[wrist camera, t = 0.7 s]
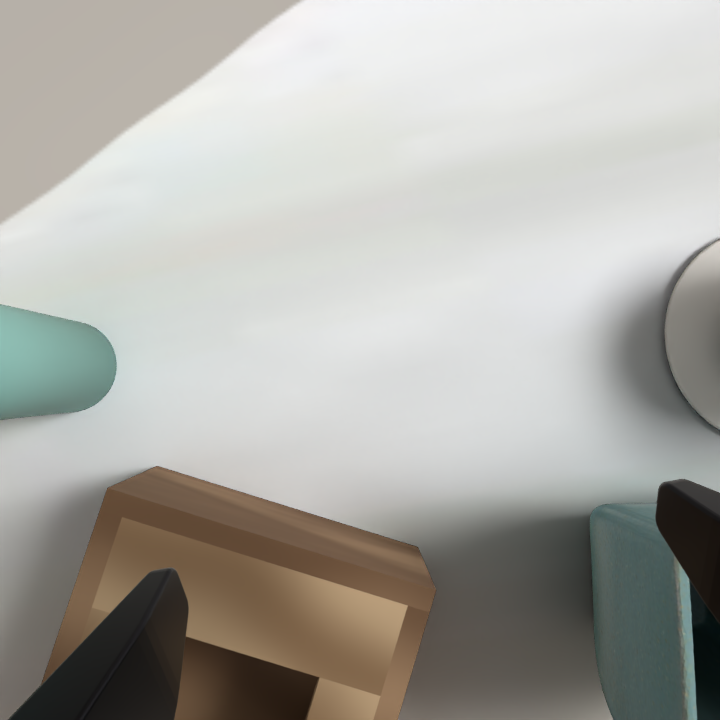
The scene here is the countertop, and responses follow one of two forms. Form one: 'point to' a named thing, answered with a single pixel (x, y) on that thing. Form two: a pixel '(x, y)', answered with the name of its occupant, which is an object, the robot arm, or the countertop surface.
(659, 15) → the countertop surface
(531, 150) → the countertop surface
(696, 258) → the teacup
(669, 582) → the flower pot
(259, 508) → the brown wooden box
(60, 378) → the dowel
